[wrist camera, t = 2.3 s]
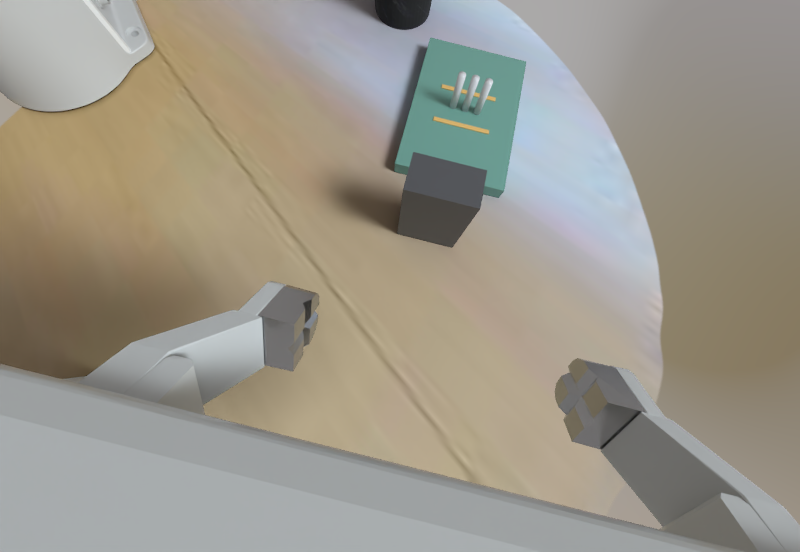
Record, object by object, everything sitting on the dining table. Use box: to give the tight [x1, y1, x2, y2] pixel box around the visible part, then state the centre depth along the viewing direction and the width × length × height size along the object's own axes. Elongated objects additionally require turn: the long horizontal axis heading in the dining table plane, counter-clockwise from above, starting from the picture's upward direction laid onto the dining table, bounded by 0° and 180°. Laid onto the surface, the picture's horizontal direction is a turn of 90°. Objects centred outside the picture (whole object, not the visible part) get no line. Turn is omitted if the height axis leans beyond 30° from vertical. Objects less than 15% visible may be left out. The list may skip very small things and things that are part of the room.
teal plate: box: [394, 38, 526, 198], centre depth 32 cm, size 12×18×6 cm, turn 166°
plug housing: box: [397, 152, 487, 247], centre depth 27 cm, size 6×3×9 cm, turn 76°
